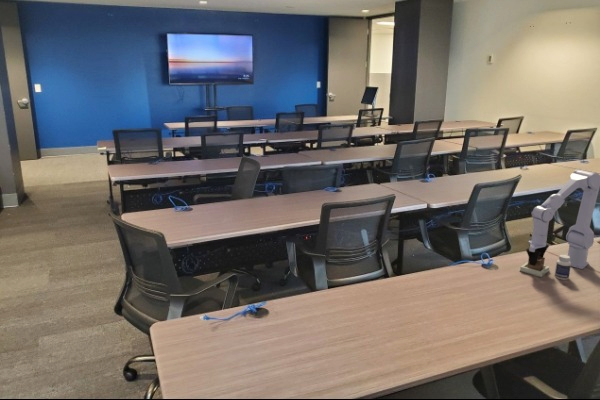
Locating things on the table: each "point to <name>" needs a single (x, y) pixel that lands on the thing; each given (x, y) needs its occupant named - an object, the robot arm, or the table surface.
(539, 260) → the walnut block
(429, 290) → the table surface
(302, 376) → the table surface
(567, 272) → the pill bottle
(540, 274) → the tray
